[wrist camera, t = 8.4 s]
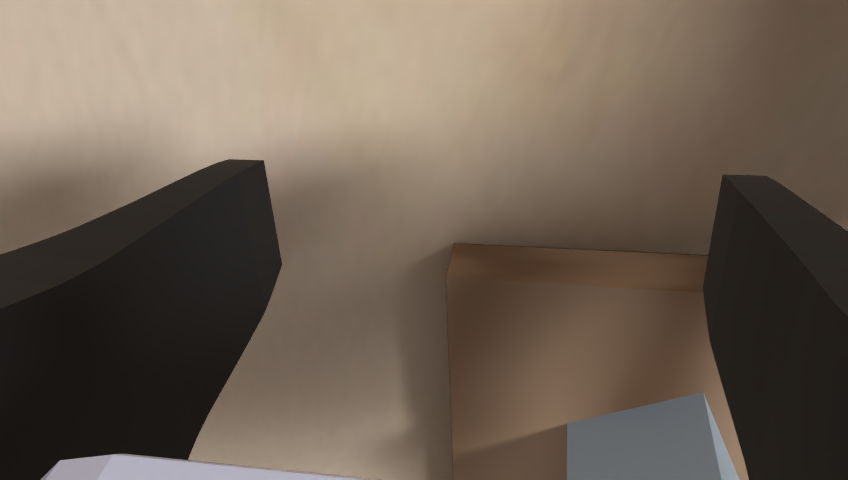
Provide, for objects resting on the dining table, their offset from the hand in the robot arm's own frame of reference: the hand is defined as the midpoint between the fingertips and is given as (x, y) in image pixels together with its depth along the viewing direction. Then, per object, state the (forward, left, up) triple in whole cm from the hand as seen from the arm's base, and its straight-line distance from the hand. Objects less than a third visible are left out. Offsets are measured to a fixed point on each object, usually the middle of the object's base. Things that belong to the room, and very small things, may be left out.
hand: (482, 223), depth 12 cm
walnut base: (-5, +14, -10) cm, 18 cm away
